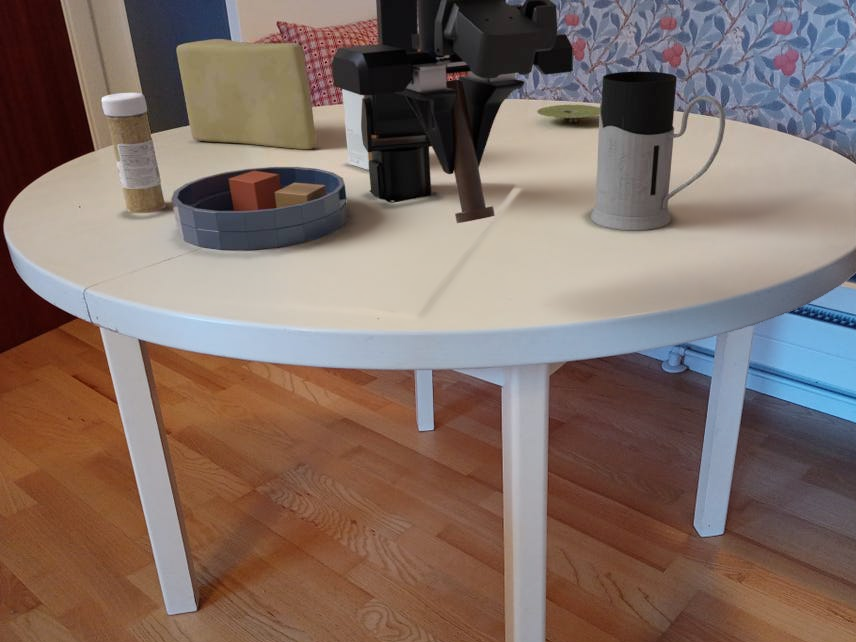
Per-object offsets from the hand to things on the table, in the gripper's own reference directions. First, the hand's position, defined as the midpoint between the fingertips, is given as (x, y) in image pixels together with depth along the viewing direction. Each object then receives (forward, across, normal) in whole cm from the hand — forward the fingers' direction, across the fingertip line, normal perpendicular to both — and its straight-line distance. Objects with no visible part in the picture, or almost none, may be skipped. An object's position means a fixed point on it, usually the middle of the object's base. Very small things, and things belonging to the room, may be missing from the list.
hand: (460, 171), depth 68 cm
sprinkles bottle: (+11, -19, +43) cm, 49 cm away
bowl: (+11, -9, +29) cm, 33 cm away
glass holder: (+11, +27, +6) cm, 30 cm away
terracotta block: (+10, -8, +34) cm, 37 cm away
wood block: (+10, -5, +26) cm, 29 cm away
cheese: (+11, +4, +72) cm, 73 cm away
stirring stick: (+4, 0, -2) cm, 4 cm away
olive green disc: (+11, +52, +55) cm, 77 cm away
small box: (+11, +14, +48) cm, 52 cm away
